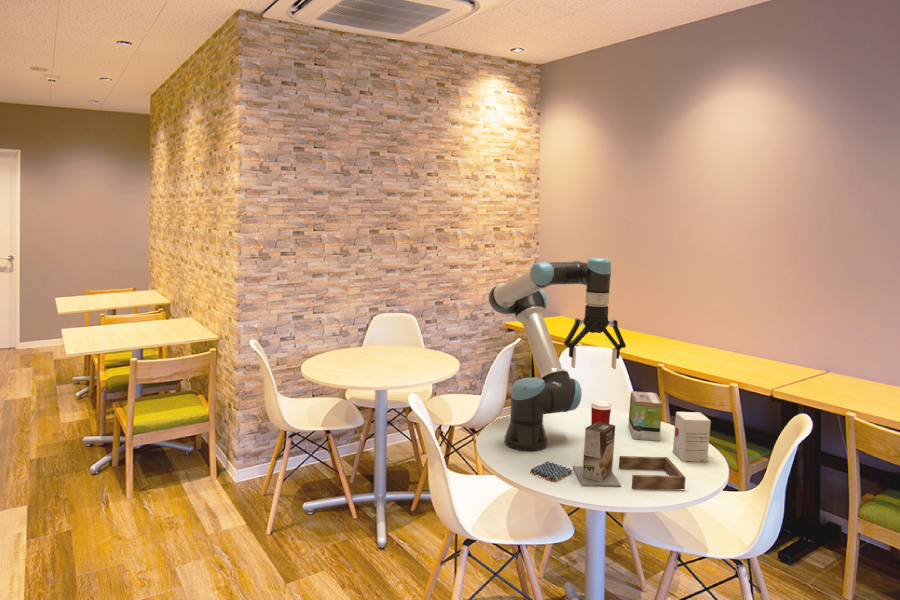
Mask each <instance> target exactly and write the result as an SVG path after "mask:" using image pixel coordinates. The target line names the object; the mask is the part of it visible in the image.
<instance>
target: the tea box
mask: <svg viewBox="0 0 900 600" xmlns="http://www.w3.org/2000/svg"><path fill="white" fill-rule="evenodd" d="M628 411H629V412H628V424H627V425H628V428H629V431H630V433H631V437H632V439H635V440H642V441H653V440H654V441H655V442H656V441H658V442H659V441H660V438H661V425H662V423H661V422H662V414H663V402H662V400H661V399H660V397H659V396H658V394H657V392H647V391H646V392H645V391H635V390H633V391H632V390H631V391H630V400H629V410H628Z"/></svg>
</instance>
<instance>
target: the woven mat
mask: <svg viewBox="0 0 900 600" xmlns="http://www.w3.org/2000/svg"><path fill="white" fill-rule="evenodd" d="M530 473H532V474H531V475H533V474H534V475H533V476H536V475H538V474H539V475H538V476H537V477H539V476H541V477H543V478H542V479H544V478H545V480H547V481H549V480H550V482H552V483H555V484H556V483H557V482H560V481H561V480H563V479H564V478H566V477H568V476H569V477H570V476H571V475H573V469H571V468H568V467H566V466H562V465H561V464H560V465H559V464H558V463H554V462H550V461H545V462H544V463H541V464H539V465H536V466H535V467H534V466H533V467H532V468H531V469H530V471H529V474H530ZM541 477H540V478H541Z"/></svg>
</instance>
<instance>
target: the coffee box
mask: <svg viewBox="0 0 900 600" xmlns="http://www.w3.org/2000/svg"><path fill="white" fill-rule="evenodd" d="M584 429H585V432H584V447H583V461H582V466H583V475H582V477H585V478H588V479H592V480H595V481H598V482H601V481H602V480H604V479H605V478H606V477H608V476H609V475H610V474H612V472H613V465H614V464H613V462H614V448H615V436H616V435H615V434H616V432H615V431H616V425H615V424H611V423H609V424H607V423H601V422H596V423H594V424H592V425H591V424H590V425H588V426H586V427H585V428H584Z"/></svg>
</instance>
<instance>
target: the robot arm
mask: <svg viewBox="0 0 900 600" xmlns="http://www.w3.org/2000/svg"><path fill="white" fill-rule="evenodd" d="M611 264H612V262H611V260H610V258H605V257H603V258H602V257H591V258H588V259H587V262H584V261H579V260H578V261H577V260H572V261H563V262H562V261H559V262H557V261H551V262H550V261H549V262H548V261H542V262H535V263H533V265H532V266H531V267H530V271H527V272H525V273H524V274H522V275H519V276H518V277H516V278H514V279H512V280H511V281H508V282H500V283H499V284H496V285H495V286H494V287H492V288H491V290H490V291H489V294H488V303H489V305H490V306H491V308H492V309H493V310H494V311H495V312H496V313H499V314H503V315H515V316H514V317H515V319H516V321H517V322H518V323H521V325H522V327H523V330H524V333H525V336H526V339H527V341H528V344H529V348H530V350H531V352H532V353H531V354H532V355H533V359H534V362H535V364H536V367H537V370H538V373H539V375H540V376H539V377H524V378H520V379H517V380H515V381H514V382H513V384H512V386H511V393H510V422H509V424H508V427H507V430H506V433H505V435H504V444H505V446H508V447H509V448H511V449H514V450H518V451H523V452H534V451H540V450H544V449H545V448H547V445H548V440H547V439H548V438H547V435H546V431H545V427H544V415H549V414H556V413H557V414H559V413H568V412H570V411H571V412H572V411H574V410H576V409H577V408H578V407H579V405H580V403H581V401H582V387H581V384H580V382H579V381H578V380H577V379H576V378H571V377H570V374H569V372H568V371H567V370H566V369H564V368H563V366H562V364H561V360H560V359H559V356H558V354H557V350H556V348H555V345H554V343H553V342H554V341H553V340H552V338H551V335H550V331H549V330H548V327H547V324H546V321H545V318H544V314H545V312H546V309H547V304H548V303H547V295H546V292H545V290H544V289H545V288H547V287H550V286H552V285H553V286H554V285H555V286H556V285H584V286H586V290H585V304H586V305H585V306H584V309H585V310H584V317H583V318H584V319H579V318H577V317H575V318H574V323H573V326H572V327H571V330H570V331H569V332H568V335H566V338H565V340H564V342H563V344H564V346H565V347H567V348H568V357H569V358H571V361H570V362H571V364H570V365H571V368H572V369H575V368H576V359H577V358H576V356H577V354H576V353H577V348H576V347H575V346H577V345H578V344H579V342H581V341H582V339H583V338H584V337H585V336H586V335H588V334H589V333H592V334H595V333H597V334H601V333H603V334H604V335H605V336H606V337H607V338H608V340H609V342H610V343H611V344H612V345H613V346H614V347H612V352H611V353H612V355H611V365H610V366H611V368H612V369H613V370H616V369H617V359H618V360H619V359H620V355H621V353H620V351H621V349H625V348H626V347H627V344H626V343H625V341H624V337H623V336H622V332H621V331H620V329H619V326H618V325H619V324H618V320H616V319H615V318H613V319H611V320H610V319H609V304H610V289H611V288H610V287H611V277H612V276H611V275H612V265H611ZM582 324H583V325H584V327H583V328H582V330H581V331H580V332H579V333H578V334H577V335H576V333H577V331H578V330H579V327H580V326H582ZM609 325H610V326H611V327H612V329H613V331H614V334H615V336H616V338H617V341H618V342H617V341H616V340H615V339H614V337H613V336H612V334H611V333H610V332H609V330H608V329H607V327H608V326H609ZM575 335H576V336H575ZM574 336H575V337H574Z"/></svg>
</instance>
